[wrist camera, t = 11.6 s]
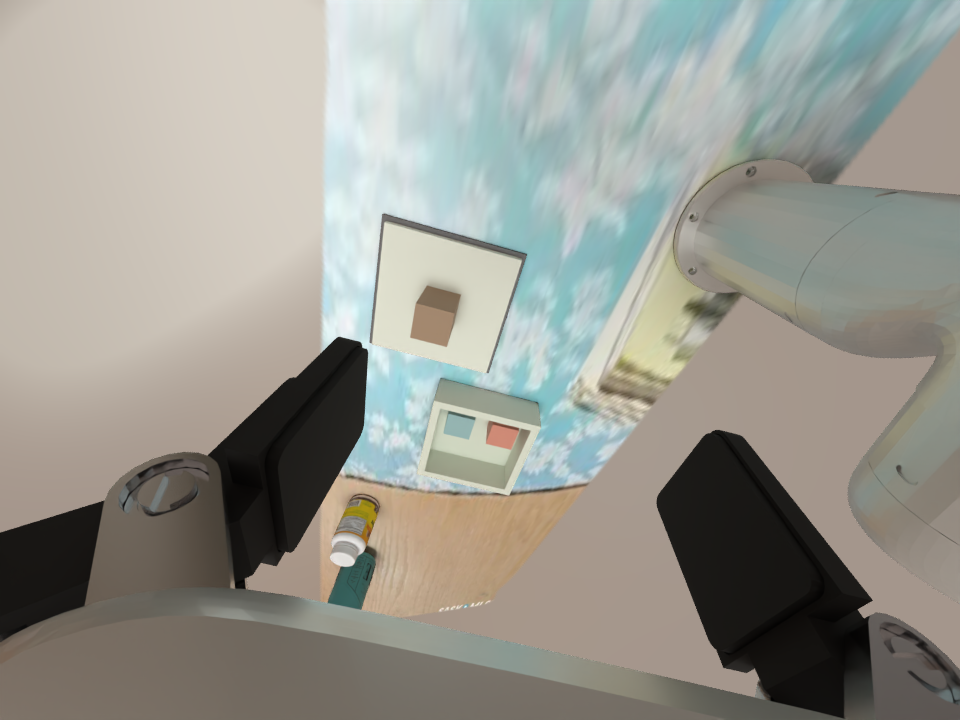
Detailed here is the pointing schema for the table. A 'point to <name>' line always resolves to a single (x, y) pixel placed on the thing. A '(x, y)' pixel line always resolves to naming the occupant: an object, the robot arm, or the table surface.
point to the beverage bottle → (353, 582)
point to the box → (478, 438)
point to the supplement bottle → (354, 530)
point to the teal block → (459, 425)
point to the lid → (441, 297)
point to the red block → (501, 435)
